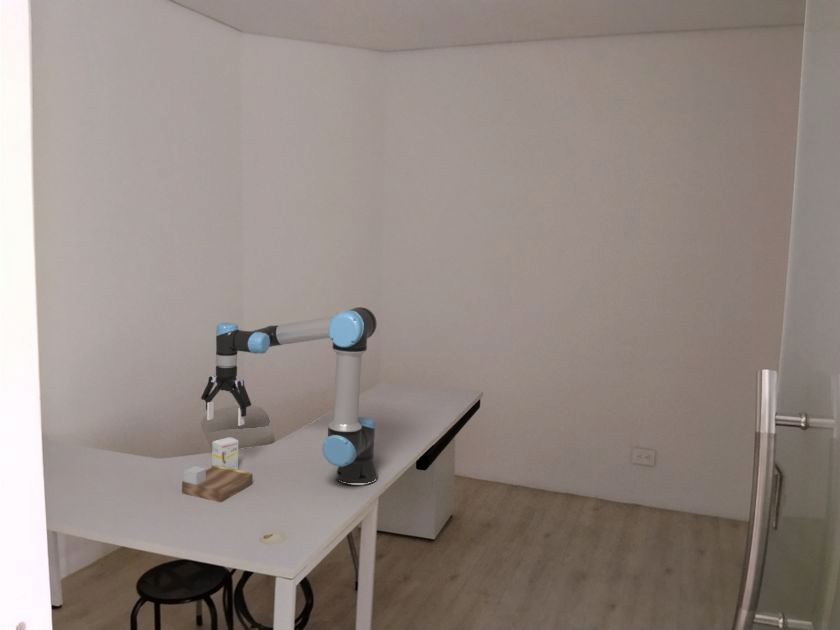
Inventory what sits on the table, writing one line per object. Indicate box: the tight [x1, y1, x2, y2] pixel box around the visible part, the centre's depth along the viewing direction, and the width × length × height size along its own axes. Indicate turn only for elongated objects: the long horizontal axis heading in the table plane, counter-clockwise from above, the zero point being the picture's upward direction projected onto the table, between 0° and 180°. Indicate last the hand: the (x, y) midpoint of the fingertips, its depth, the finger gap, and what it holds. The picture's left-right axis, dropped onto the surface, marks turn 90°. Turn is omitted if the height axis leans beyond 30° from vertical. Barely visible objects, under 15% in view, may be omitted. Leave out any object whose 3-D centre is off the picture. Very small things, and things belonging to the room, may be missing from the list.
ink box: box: [211, 436, 239, 470], centre depth 268 cm, size 9×5×12 cm, turn 141°
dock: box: [181, 465, 254, 503], centre depth 251 cm, size 16×18×4 cm
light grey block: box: [183, 465, 207, 485], centre depth 247 cm, size 5×5×4 cm
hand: (225, 421), depth 266 cm, fingers open, 13 cm apart
